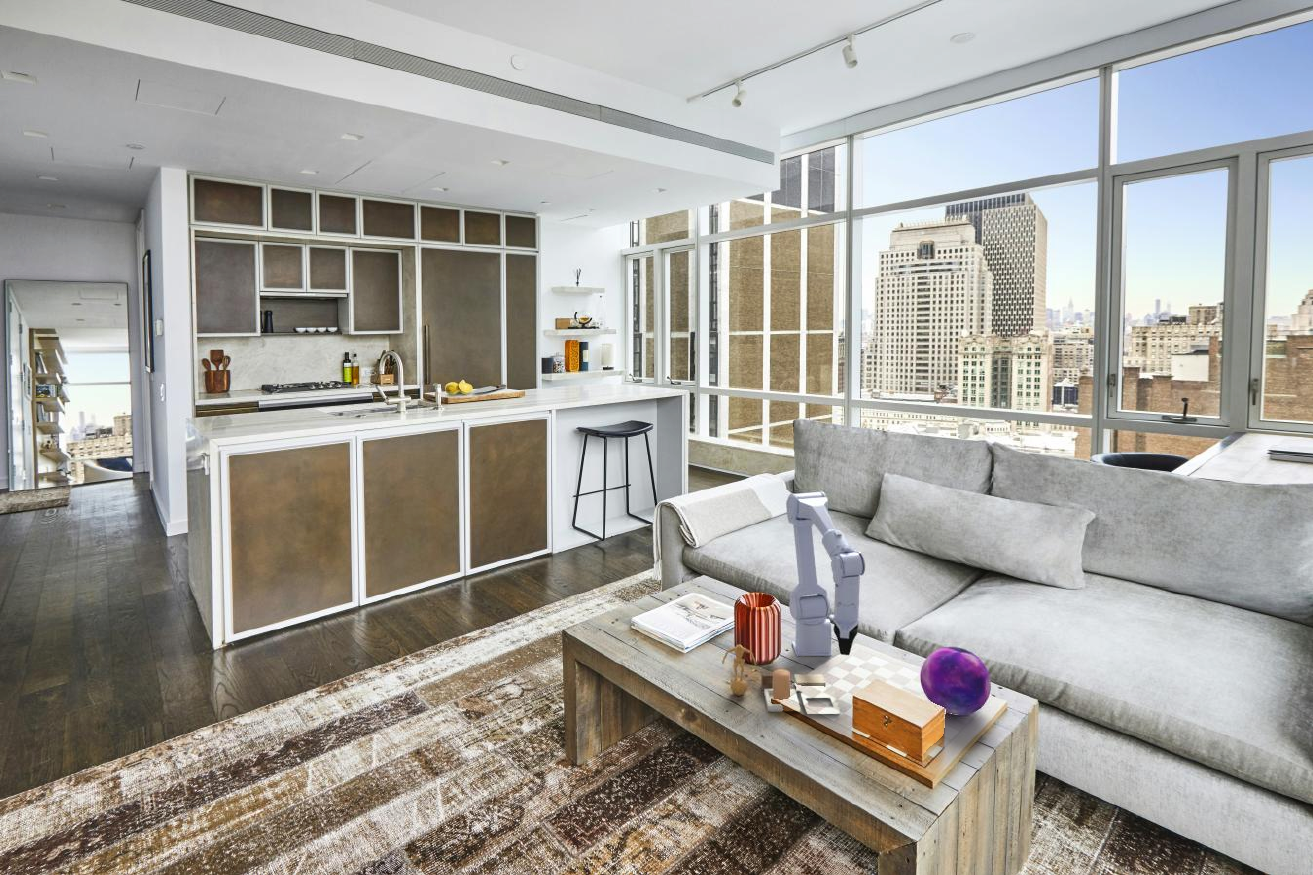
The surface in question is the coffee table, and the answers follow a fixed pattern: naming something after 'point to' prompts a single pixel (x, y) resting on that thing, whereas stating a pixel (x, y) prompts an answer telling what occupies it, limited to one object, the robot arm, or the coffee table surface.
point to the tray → (770, 707)
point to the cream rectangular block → (809, 680)
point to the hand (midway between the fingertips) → (845, 652)
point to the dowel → (781, 684)
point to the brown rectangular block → (767, 680)
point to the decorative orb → (955, 680)
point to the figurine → (738, 683)
